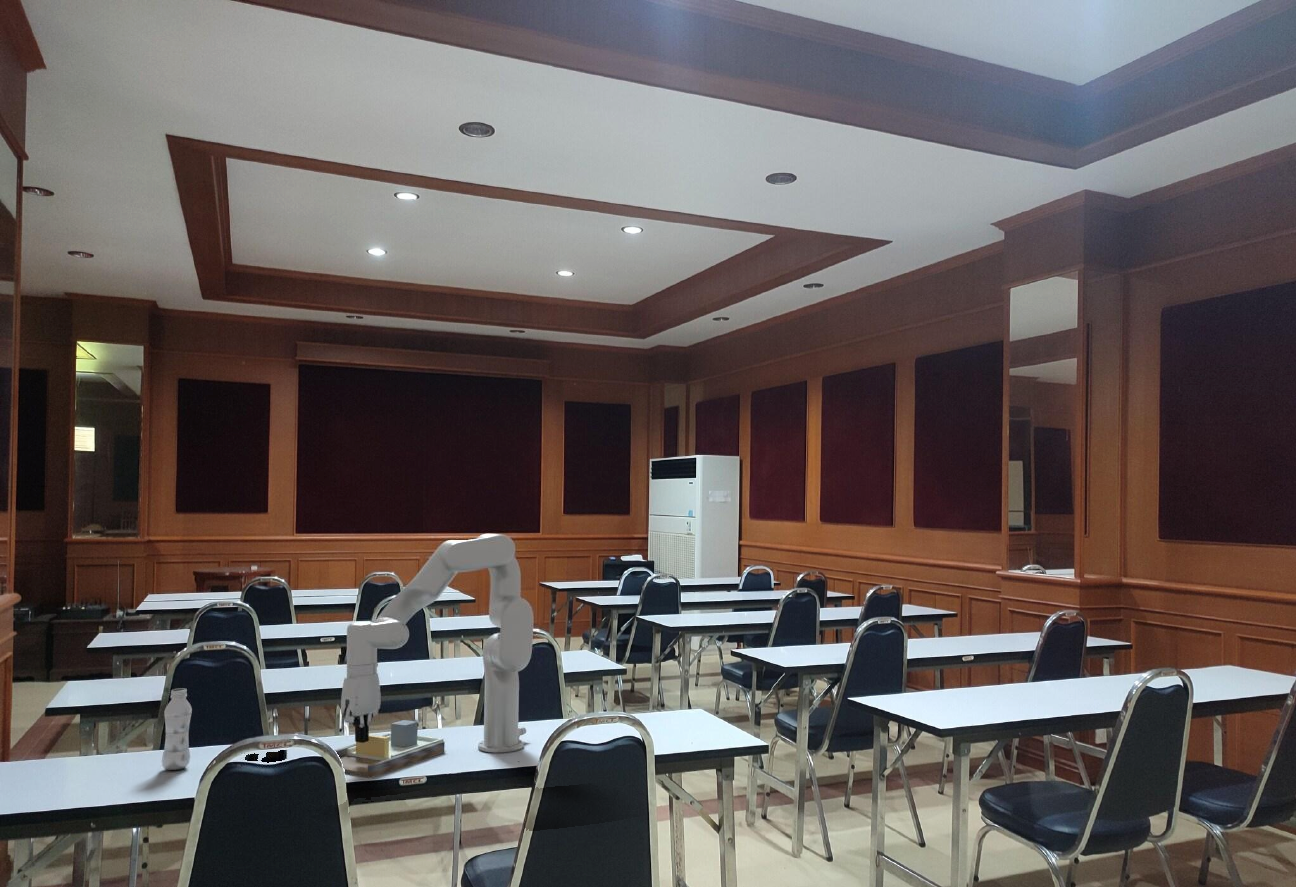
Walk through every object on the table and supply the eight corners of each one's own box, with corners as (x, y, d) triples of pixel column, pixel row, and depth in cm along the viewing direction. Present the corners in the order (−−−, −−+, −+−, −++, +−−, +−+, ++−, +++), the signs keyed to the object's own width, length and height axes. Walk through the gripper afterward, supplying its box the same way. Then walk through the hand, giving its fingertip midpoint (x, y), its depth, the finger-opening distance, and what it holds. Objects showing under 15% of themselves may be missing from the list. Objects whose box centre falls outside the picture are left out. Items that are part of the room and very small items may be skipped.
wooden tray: (399, 738, 261) (399, 718, 261) (443, 745, 253) (443, 724, 254) (347, 755, 243) (347, 732, 243) (393, 762, 236) (393, 739, 236)
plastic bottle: (158, 773, 229) (161, 692, 231) (164, 766, 236) (168, 687, 237) (186, 771, 231) (189, 691, 232) (192, 764, 237) (195, 686, 239)
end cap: (285, 764, 238) (286, 738, 238) (287, 771, 231) (288, 744, 232) (243, 769, 234) (244, 742, 234) (244, 776, 227) (245, 748, 228)
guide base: (388, 743, 260) (389, 733, 260) (444, 751, 251) (444, 741, 251) (312, 767, 235) (312, 756, 235) (371, 777, 226) (371, 766, 226)
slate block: (403, 741, 254) (403, 719, 255) (417, 743, 252) (417, 721, 252) (390, 745, 250) (391, 723, 250) (404, 747, 247) (405, 725, 248)
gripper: (371, 664, 246) (371, 733, 245) (329, 674, 233) (329, 747, 231) (393, 666, 243) (393, 736, 241) (351, 675, 229) (351, 750, 228)
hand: (361, 741), depth 236 cm, fingers closed
